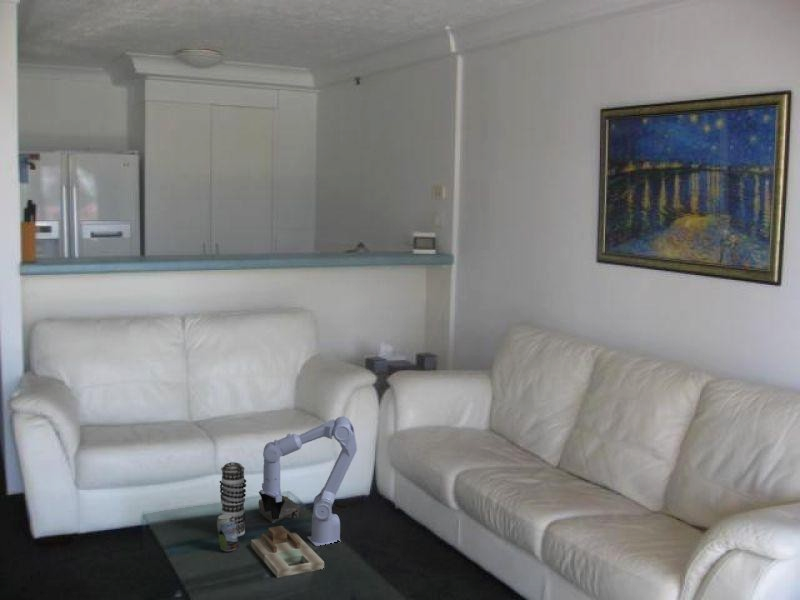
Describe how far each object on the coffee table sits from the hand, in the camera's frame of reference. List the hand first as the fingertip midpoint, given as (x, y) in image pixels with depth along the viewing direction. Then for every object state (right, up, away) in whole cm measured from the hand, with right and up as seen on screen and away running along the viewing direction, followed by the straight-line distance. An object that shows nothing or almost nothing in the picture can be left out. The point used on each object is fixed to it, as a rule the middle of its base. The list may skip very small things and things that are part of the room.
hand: (271, 515), depth 334 cm
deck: (+7, -12, -12) cm, 18 cm away
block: (+3, -8, -4) cm, 9 cm away
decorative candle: (-15, -8, +8) cm, 18 cm away
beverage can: (-14, -10, -7) cm, 19 cm away
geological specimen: (-1, -6, +25) cm, 26 cm away
